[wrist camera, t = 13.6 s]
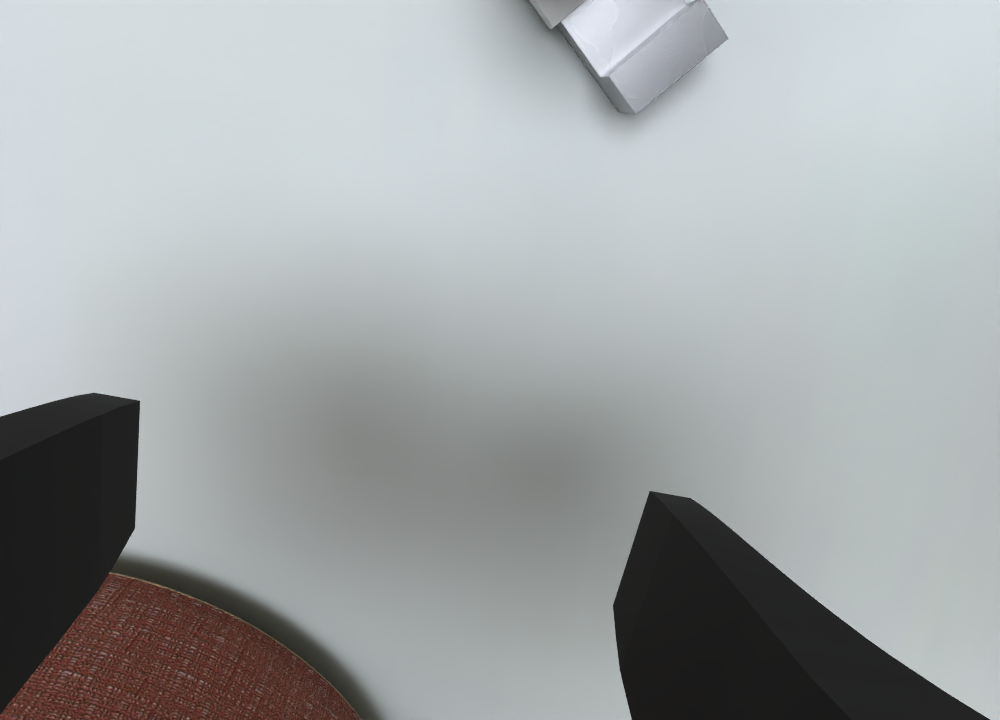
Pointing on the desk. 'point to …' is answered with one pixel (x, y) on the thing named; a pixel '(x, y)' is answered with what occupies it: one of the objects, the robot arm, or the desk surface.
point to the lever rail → (640, 44)
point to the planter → (171, 665)
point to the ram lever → (554, 10)
